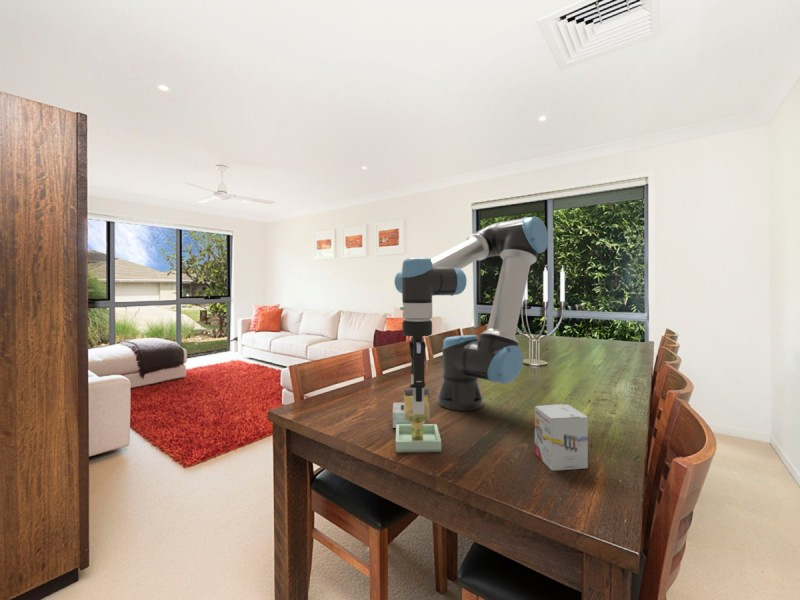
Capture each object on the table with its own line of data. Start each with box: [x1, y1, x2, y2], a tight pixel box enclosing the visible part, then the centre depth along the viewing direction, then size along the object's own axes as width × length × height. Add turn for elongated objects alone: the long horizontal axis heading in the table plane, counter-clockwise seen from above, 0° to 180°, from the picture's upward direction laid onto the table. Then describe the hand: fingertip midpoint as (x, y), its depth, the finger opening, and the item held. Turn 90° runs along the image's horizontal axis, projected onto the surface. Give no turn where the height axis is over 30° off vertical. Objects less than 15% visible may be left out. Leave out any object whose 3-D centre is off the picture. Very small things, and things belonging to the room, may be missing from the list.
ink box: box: [534, 403, 589, 472], centre depth 82 cm, size 9×9×12 cm
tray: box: [395, 423, 442, 453], centre depth 92 cm, size 11×11×2 cm
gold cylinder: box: [403, 387, 431, 440], centre depth 91 cm, size 6×6×13 cm
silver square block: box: [392, 402, 426, 429], centre depth 105 cm, size 9×9×4 cm
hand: (417, 405), depth 91 cm, fingers open, 10 cm apart
